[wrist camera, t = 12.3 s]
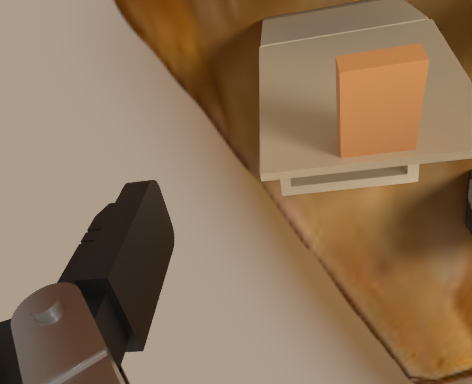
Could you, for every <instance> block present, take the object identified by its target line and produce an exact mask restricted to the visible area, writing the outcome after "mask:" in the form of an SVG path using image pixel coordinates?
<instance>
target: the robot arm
mask: <svg viewBox="0 0 472 384" xmlns="http://www.w3.org/2000/svg"><path fill="white" fill-rule="evenodd" d="M173 248H174V231H173V226H172V223H171V220H170V217H169V214H168V211H167V208H166V205H165V202H164V199H163V196H162V193H161V190H160V188H159V185H158V183H157V182H156V181H155V180H149V181H141V182H132V183H127V184H125V186H124V187H123V189H122V191H121V193H120V195H119V197H118V199H117V200H116V202H115V203H110V204H109V205H107V206H106V207H105V208H104V209H103V210H102V211H101V212H100V213H98V214H97V215H96V216H95V218H94V220H93V221H92V223H91V225H90V227H89V228H88V233H86V234H85V235H84V237H83V239H82V240H81V244H79V246H78V247H77V249H76V251H75V253H74V254H73V256H72V258H71V259H70V261H69V263H68V265H67V267H66V268H65V270H64V272H63V273H62V275H61V277H60V279H59V280H58V282H57V283H55V284H51V285H48V286H46V287H43V288H41V289H39V290H37V291H36V292H34V293H32V294H31V295H30V296H29V297H27V298H26V299H25V300H24V301H23V302H22V303H21V304H20V305H19V306H18V307H17V309H16V310H15V312H14V314H13V316H12V319H9V320H6V321H3V322H0V384H130V382H129V380H128V378H127V376H126V374H125V372H124V370H123V368H122V366H121V363H122V360H123V357H124V354H125V352H135V351H143V350H144V346H145V343H146V339H147V336H148V333H149V329H150V326H151V323H152V319H153V316H154V313H155V309H156V305H157V302H158V299H159V295H160V292H161V289H162V285H163V282H164V278H165V275H166V272H167V268H168V265H169V261H170V258H171V255H172V251H173Z"/></svg>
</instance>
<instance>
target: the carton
mask: <svg viewBox="0 0 472 384" xmlns="http://www.w3.org/2000/svg"><path fill="white" fill-rule="evenodd" d="M423 20H429V18H428V17H427V16H426V15H424V14H423V13H421V12H420V11H419V10H417V9H416V8H415V7H413V6H412V5H410V4H409V3H408V2H406V1H405V0H366V1H360V2H355V3H349V4H343V5H337V6H332V7H326V8H320V9H314V10H309V11H303V12H297V13H291V14H286V15H280V16H274V17H268V18H263V25H262V35H261V45H260V46H261V47H264V46H270V45H276V44H282V43H288V42H294V41H301V40H307V39H313V38H319V37H325V36H331V35H337V34H343V33H350V32H356V31H362V30H368V29H374V28H380V27H386V26H392V25H399V24H405V23H411V22H417V21H423ZM418 175H419V164H415V165H406V166H397V167H388V168H379V169H370V170H361V171H352V172H343V173H334V174H325V175H316V176H307V177H298V178H289V179H280V184H281V190H282V196H287V195H297V194H306V193H316V192H326V191H335V190H345V189H354V188H364V187H373V186H383V185H392V184H402V183H412V182H418Z"/></svg>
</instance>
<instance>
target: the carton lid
mask: <svg viewBox="0 0 472 384" xmlns="http://www.w3.org/2000/svg"><path fill="white" fill-rule="evenodd" d="M259 111H260V177H261V181H271V180H280V179H289V178H298V177H307V176H316V175H325V174H334V173H343V172H352V171H361V170H370V169H379V168H388V167H397V166H406V165H415V164H424V163H433V162H442V161H451V160H460V159H469V158H472V82H471V80H470V79H469V77H468V76H467V74H466V72H465V71H464V69H463V67H462V66H461V64H460V63H459V61H458V59H457V58H456V56H455V55H454V53H453V51H452V50H451V48H450V47H449V45H448V43H447V42H446V40H445V39H444V37H443V35H442V34H441V32H440V31H439V29H438V27H437V26H436V24H435V23H434V21H433V19H429V20H423V21H417V22H411V23H405V24H399V25H392V26H386V27H380V28H374V29H368V30H362V31H356V32H350V33H343V34H337V35H331V36H325V37H319V38H313V39H307V40H301V41H294V42H288V43H282V44H276V45H270V46H264V47H259Z"/></svg>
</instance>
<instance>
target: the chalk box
mask: <svg viewBox="0 0 472 384" xmlns="http://www.w3.org/2000/svg"><path fill="white" fill-rule="evenodd" d="M466 227H467V228H468V229H469V231H470V233H471V235H472V170H471V172H470V179H469V189H468V203H467V213H466Z"/></svg>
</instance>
